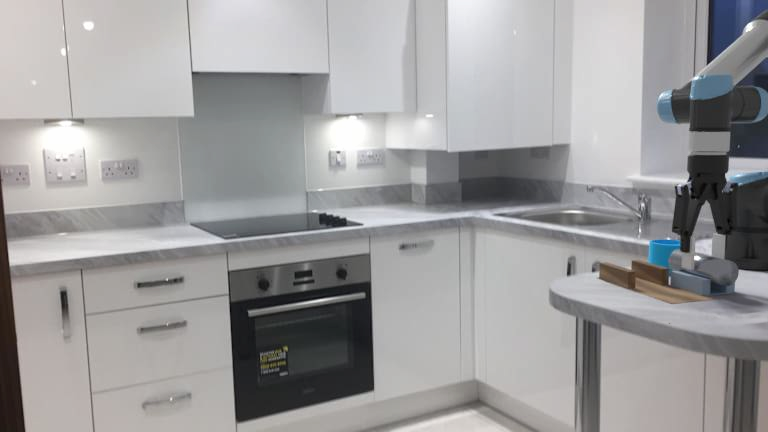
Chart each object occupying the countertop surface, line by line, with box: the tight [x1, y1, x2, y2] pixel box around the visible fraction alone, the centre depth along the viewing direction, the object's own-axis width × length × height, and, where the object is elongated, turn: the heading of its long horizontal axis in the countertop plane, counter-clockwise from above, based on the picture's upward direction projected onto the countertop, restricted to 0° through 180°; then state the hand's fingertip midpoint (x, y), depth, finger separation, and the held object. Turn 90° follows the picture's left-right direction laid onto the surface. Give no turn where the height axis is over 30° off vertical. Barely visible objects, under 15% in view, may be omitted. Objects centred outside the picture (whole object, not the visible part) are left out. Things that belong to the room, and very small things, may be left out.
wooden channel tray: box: [597, 259, 716, 305], centre depth 144 cm, size 10×24×5 cm, turn 17°
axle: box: [668, 249, 740, 286], centre depth 143 cm, size 14×5×5 cm, turn 17°
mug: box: [647, 238, 680, 276], centre depth 162 cm, size 12×8×8 cm
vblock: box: [669, 271, 736, 297], centre depth 143 cm, size 8×10×4 cm
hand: (702, 266), depth 142 cm, fingers open, 7 cm apart
